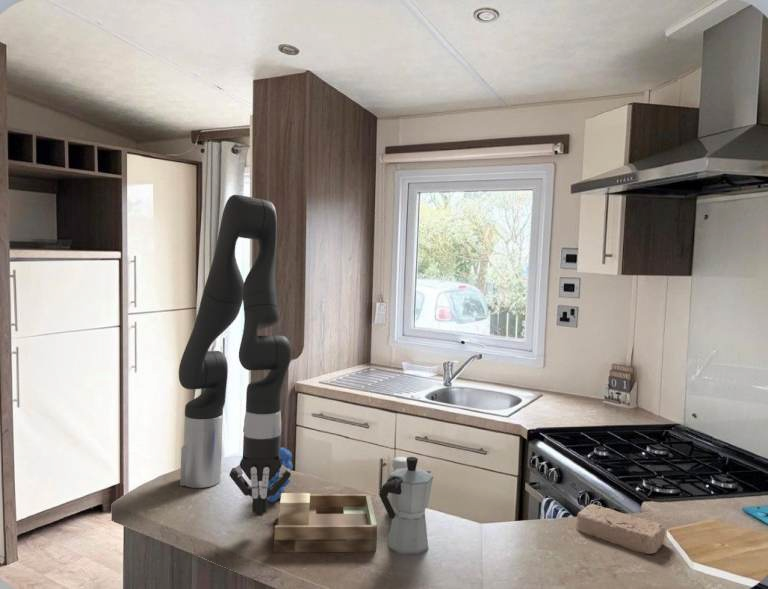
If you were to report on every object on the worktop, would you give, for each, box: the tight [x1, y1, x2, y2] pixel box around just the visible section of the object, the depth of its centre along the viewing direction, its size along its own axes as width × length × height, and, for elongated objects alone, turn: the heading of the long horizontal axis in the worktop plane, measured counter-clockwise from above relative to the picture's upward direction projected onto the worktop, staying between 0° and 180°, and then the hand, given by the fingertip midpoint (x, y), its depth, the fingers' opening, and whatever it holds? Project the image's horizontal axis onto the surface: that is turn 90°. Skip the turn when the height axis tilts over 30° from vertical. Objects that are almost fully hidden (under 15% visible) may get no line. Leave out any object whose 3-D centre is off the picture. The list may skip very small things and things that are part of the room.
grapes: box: [267, 446, 294, 503], centre depth 134 cm, size 12×7×12 cm, turn 165°
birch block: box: [278, 492, 311, 525], centre depth 116 cm, size 6×5×5 cm
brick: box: [575, 503, 666, 555], centre depth 122 cm, size 17×8×5 cm, turn 48°
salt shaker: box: [387, 456, 408, 510], centre depth 128 cm, size 6×6×13 cm
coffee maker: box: [378, 456, 434, 556], centre depth 113 cm, size 15×9×18 cm, turn 134°
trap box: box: [273, 493, 378, 553], centre depth 117 cm, size 20×16×5 cm
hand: (259, 514), depth 116 cm, fingers closed
